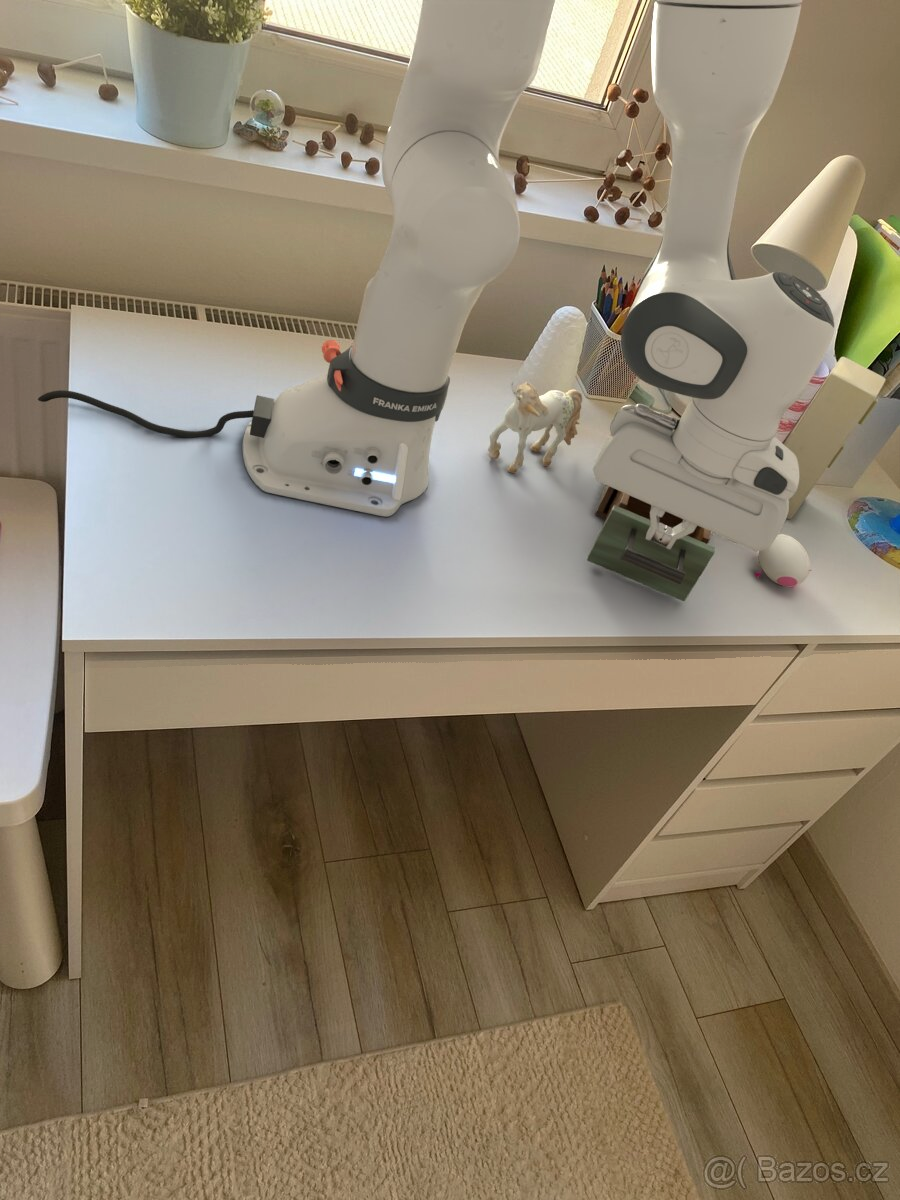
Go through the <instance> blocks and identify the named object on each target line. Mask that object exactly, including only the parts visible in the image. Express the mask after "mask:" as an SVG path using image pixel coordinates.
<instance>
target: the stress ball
mask: <svg viewBox="0 0 900 1200" xmlns="http://www.w3.org/2000/svg"><path fill="white" fill-rule="evenodd" d="M758 561H759V564H760V567H761V569H762V571H760V572H754V575H755V576H756V578H757V579H759V577H760V575H761V574H762V573H763V572H764V574H765V575H766V576H767V577H768V578H769V579H770V580H771V581H772V582H774V583H775V584H778V585H780V586H782V587H789V588H792V587H797V586H799V585H801V584H803V583H804V582H805V581H806V580H807V578H808V577H809V574H810V571H811V561H810V557H809V555H808V552H807V550H806V549H805V548H804V546H803V545H802V543H801V542H799V541H798V540H797V539H796V538H794V537H793V536H790V535H788V534H783V533H779V534H778V535H777V537H776V538H775V540H774V542H773V543H772V544H771V546H770V547H769V548H767V549H764V550H761V551H758Z"/></svg>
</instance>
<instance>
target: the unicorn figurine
mask: <svg viewBox="0 0 900 1200" xmlns="http://www.w3.org/2000/svg"><path fill="white" fill-rule="evenodd" d="M514 397H515V400H514V402H513V403H512V404H511V405H510V406H509V407H508V408H507V410H506V411H505V413H504V415H503V416H504V417H503V419H502V420H501V422H500V423H499V425H498V426H496V428H495V429H494V430H493V431H492V432H491V434H490V435H489V446H488V455H489V457H490V458H491V459H492V460H493V459H494V460H497V459H498V458H499V457H500V455H501V453H500V450H501V449H502V444H501V442H499V441H498V439H499V436H500V435H501V434H502V433H504V432H505V431H507V430H508V429H509V430H511V431H513V432H514V433H517V434H518V437H519V439H518V444H517V454H516V457H515V460H514V461H513V462H512V463H511V464H510V465H509V466H508V467H507V471H508V473H512V474H516V473H517V472H518V471H519V468H521V467H522V466H523V464H524V459H525V456H524V451H525V449H526V443H527V442H526V441H527V438H528V436H529V435H531V433H532V432H538V431H541V430H543V429H544V432H543V434H542V435H541V436H540V437H539V439H538V440H537V441H534V442H533V443H532V445H531V446H530V447H529V448H530V450H531V451H532V452H540V451H541V450H542V448H543V447H544V446H546V444H547V442H548V441H549V439H550V437H551V435H550V432H551V430H552V429H553V427H554V429H555V432H556V438H555V439H554V440H553V442H552V443H551V444H550V446H549V447H548V448H547V449H546V452H545V454H544V456H543V457H542V465H543V466H545V467H547V466H550V465H551V463H552V460H553V457H554V456H555V455H556V453H557V452H558V447H559V444H560V443H562V442H563V441H564V442H565V443H566V445H567V446H571V445H572V441H571V440H572V439H574V438H575V436H577V435H578V430H577V426H576V425H580V422H579V420H580V417H581V409H582V403H583V394H582V393H581V392H580V391H578V390H577V389H569V390H567V391H566V392H565V391H561V390H557V389H553V390H552V389H551V390H548V391H547V392H546V393H544V394H542V395H539V394H538V391H537V389H536V387H535V386H534V385H533V384H531V383H530V382H529V381H525V382H524V383H521V384H520V385H518V386H517V388H516V390H515V392H514Z"/></svg>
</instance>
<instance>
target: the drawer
mask: <svg viewBox="0 0 900 1200" xmlns="http://www.w3.org/2000/svg"><path fill="white" fill-rule="evenodd" d="M650 509H651V505H650V504H648V503H646V502H643V501H641V500H639V499H637V498H634V497H632V496H630V495H628V494H625V493H623V492H621V491H619V490H618V491H617V493H616V494H615V496H614V498H613V500H612V503H611V504H610V506H609V510H608V513H607V516H606V520H605V519H604V520H605V521H604V523H603V525H602V528H601V529H600V532H598V535H597V537H596V539H595V540H594V541H595V542H594V544H593V545H592V547H591V549H590V551H589V553H588V555H587V558H586V561H587V562H590V563H592V564H594V565H596V566H599V567H601V568H603V569H606V570H609V571H611V572H613V573H615V574H618V575H619V576H623V577H624V578H627V579H630V580H632V581H634V582H637V583H638V584H641V585H644V586H646V587H648V588H651V589H653V590H655V591H657V592H660V593H662V594H665V595H667V596H669V597H672V598H674V599H677V600H679V601H681V602H685V601H686V599H687V598H688V597H689V595H690V593H691V592H692V590H693V589H694V587H695V586H696V584H697V582H698V580H699V579H700V577H701V576H702V574H703V573H704V571H705V569H706V568H707V566H708V564H709V563H710V561H711V560H712V558H713V557H714V555H715V552H716V547H715V546H713V545H710V544H709V542H710V540H711V533H712V532H711V531H709V530H707V529H704V528H702V527H700V526H698V525H697V527H696V528H695V530H694V532H692V533H690V534H688V535H686V536H684V537H682V538H680V539H676V541H675V543H674V544H673V546H672V547H671V549H667V548H665V547H663V546H661V545H658V544H656V543H654V542H651V541H649V540H647V539H646V534H647V532H648V529H649V527H650V526H651V520H650ZM659 522H660V523H662V524H664V525H667V526H669V527H671V528H673V527H675V526H677V525H679V524H680V523H682V522H683V519H682V518H680V517H677V516H675V515H673V514H671V513H668V512H666V511H665V513H664V515H663V516H662V517H659Z"/></svg>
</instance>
